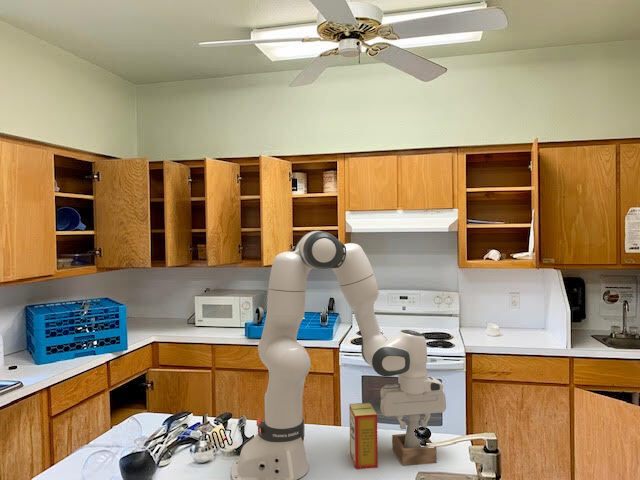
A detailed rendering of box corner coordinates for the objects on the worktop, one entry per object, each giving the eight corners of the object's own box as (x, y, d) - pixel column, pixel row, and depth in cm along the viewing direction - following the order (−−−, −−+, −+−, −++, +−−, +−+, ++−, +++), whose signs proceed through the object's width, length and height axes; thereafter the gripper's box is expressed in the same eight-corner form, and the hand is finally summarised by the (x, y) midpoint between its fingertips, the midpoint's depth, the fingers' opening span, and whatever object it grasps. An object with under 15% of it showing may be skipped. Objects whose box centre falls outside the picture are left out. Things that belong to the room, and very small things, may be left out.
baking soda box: (377, 467, 131) (377, 413, 131) (355, 469, 130) (355, 414, 130) (370, 451, 140) (369, 401, 140) (350, 453, 139) (349, 402, 139)
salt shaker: (422, 459, 134) (421, 416, 134) (403, 456, 136) (402, 414, 135) (424, 450, 139) (423, 409, 139) (405, 448, 141) (405, 407, 141)
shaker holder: (403, 465, 131) (402, 450, 131) (392, 449, 142) (392, 434, 142) (436, 462, 133) (436, 447, 133) (423, 446, 143) (423, 432, 143)
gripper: (383, 388, 132) (383, 434, 133) (448, 384, 135) (448, 429, 136) (377, 381, 139) (377, 425, 139) (439, 377, 142) (440, 421, 142)
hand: (413, 427), depth 137 cm, fingers open, 5 cm apart
